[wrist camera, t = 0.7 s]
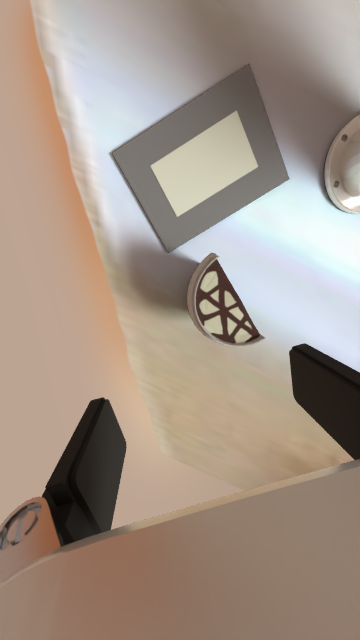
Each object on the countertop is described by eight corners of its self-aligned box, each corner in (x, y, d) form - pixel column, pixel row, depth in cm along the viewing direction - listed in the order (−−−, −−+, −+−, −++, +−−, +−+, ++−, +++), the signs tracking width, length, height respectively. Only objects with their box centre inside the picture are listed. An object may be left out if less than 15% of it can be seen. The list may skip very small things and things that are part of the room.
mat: (247, 67, 25) (249, 62, 24) (287, 180, 29) (289, 178, 28) (113, 155, 26) (112, 152, 25) (168, 253, 30) (168, 252, 29)
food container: (165, 278, 31) (167, 284, 21) (198, 256, 30) (216, 251, 21) (206, 340, 34) (224, 369, 24) (236, 320, 34) (267, 341, 24)
